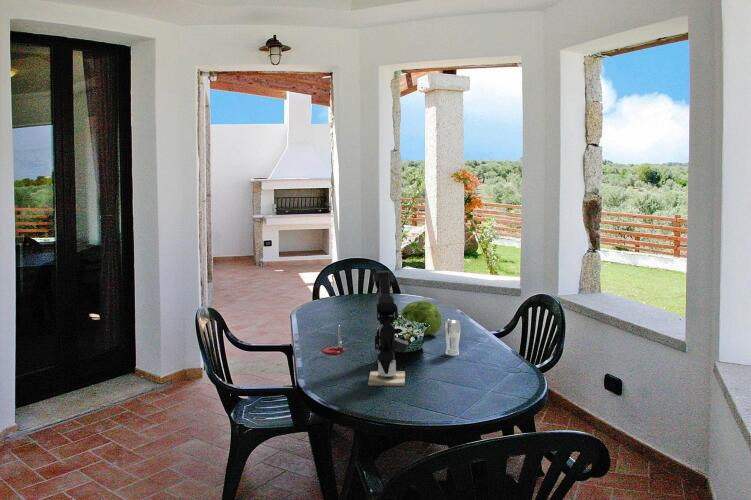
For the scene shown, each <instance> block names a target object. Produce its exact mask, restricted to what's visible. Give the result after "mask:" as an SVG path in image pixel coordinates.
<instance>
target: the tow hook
mask: <svg viewBox="0 0 751 500" xmlns="http://www.w3.org/2000/svg"><path fill="white" fill-rule="evenodd" d="M337 327H338V328H337V335H338V336H337V338H338V339H337V340H338V341H337V342H338V345H337V346H338V347H335V346H334V347H328V348H325V349H324V350H323V353H324V354H329V355H333V354H334V355H339V354H342V353H344V352H346V350H347V349H346V348H344V347H343V344H342V343H343V341H342V333H341V325H340V324H339V325H337Z"/></svg>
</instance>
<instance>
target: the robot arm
mask: <svg viewBox="0 0 751 500" xmlns="http://www.w3.org/2000/svg"><path fill="white" fill-rule="evenodd" d="M372 276H373V278H372V279H373V283H374V285H375V287H376V289H377V291H378V298H377V303H376V304H375V305H376V321H378V327H377V329H376V331H375V335H374V339H373V340H374V350H377V358H376V365H378V360H379V361H380V363H381V366H382V368H383V370H384V372H385V374H388V371H389V366H390V362H391V361H392V360H395V350H396V349H397V350H399V351H402V352H404V353H406V352H407V349H408V347H409V341H408V340H407V339H406V336H404V335H401V336H400V337H395V336H396V329H395V328H396V327H395V325H394V324H395V323H394V322H395V321H398V318H399V313H398V311H399V309H398V306H397V303H395V298H394V297H393V296H392V295H391V287H392V286H393V285H392V283H393V282H394V272H391V271H390V270H376V271H375V272H373V275H372Z"/></svg>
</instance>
